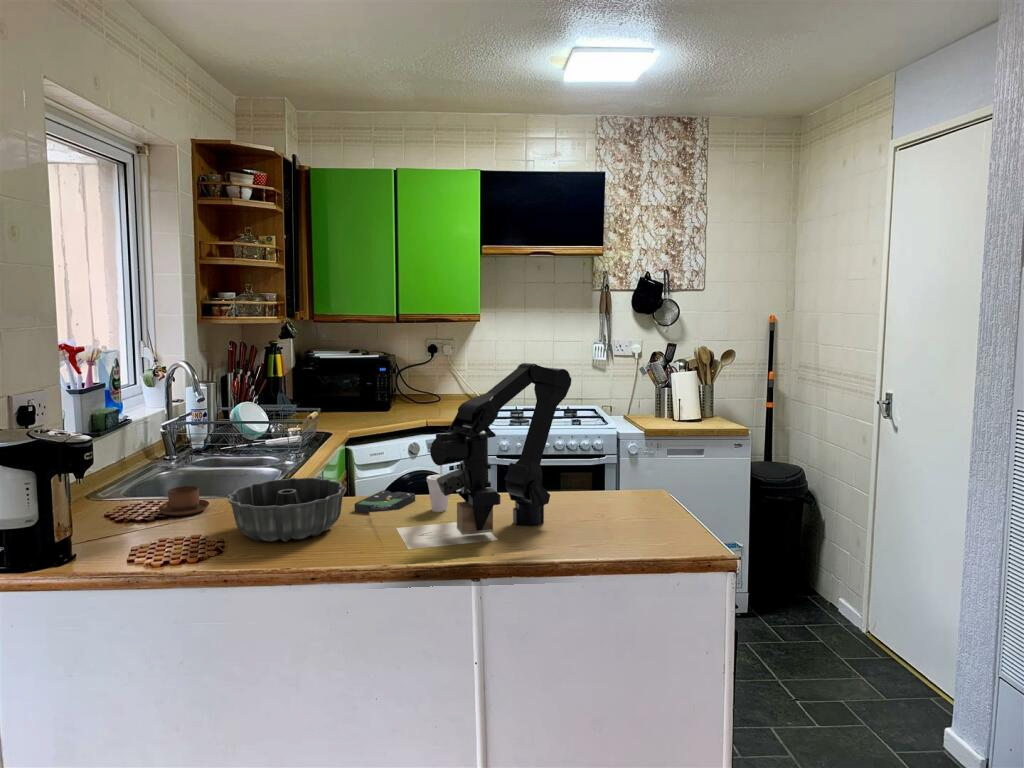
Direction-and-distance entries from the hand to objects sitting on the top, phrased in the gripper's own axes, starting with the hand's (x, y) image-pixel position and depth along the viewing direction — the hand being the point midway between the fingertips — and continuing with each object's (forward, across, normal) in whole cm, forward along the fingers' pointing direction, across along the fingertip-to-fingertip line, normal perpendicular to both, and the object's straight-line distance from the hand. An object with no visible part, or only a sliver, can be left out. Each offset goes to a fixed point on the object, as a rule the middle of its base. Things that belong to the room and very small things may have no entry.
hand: (476, 526), depth 166 cm
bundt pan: (+4, -22, -40) cm, 46 cm away
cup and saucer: (+4, -49, -65) cm, 82 cm away
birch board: (+4, -4, -6) cm, 8 cm away
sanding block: (+1, 0, 0) cm, 1 cm away
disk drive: (+4, -37, -15) cm, 40 cm away
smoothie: (+4, -24, -3) cm, 25 cm away
